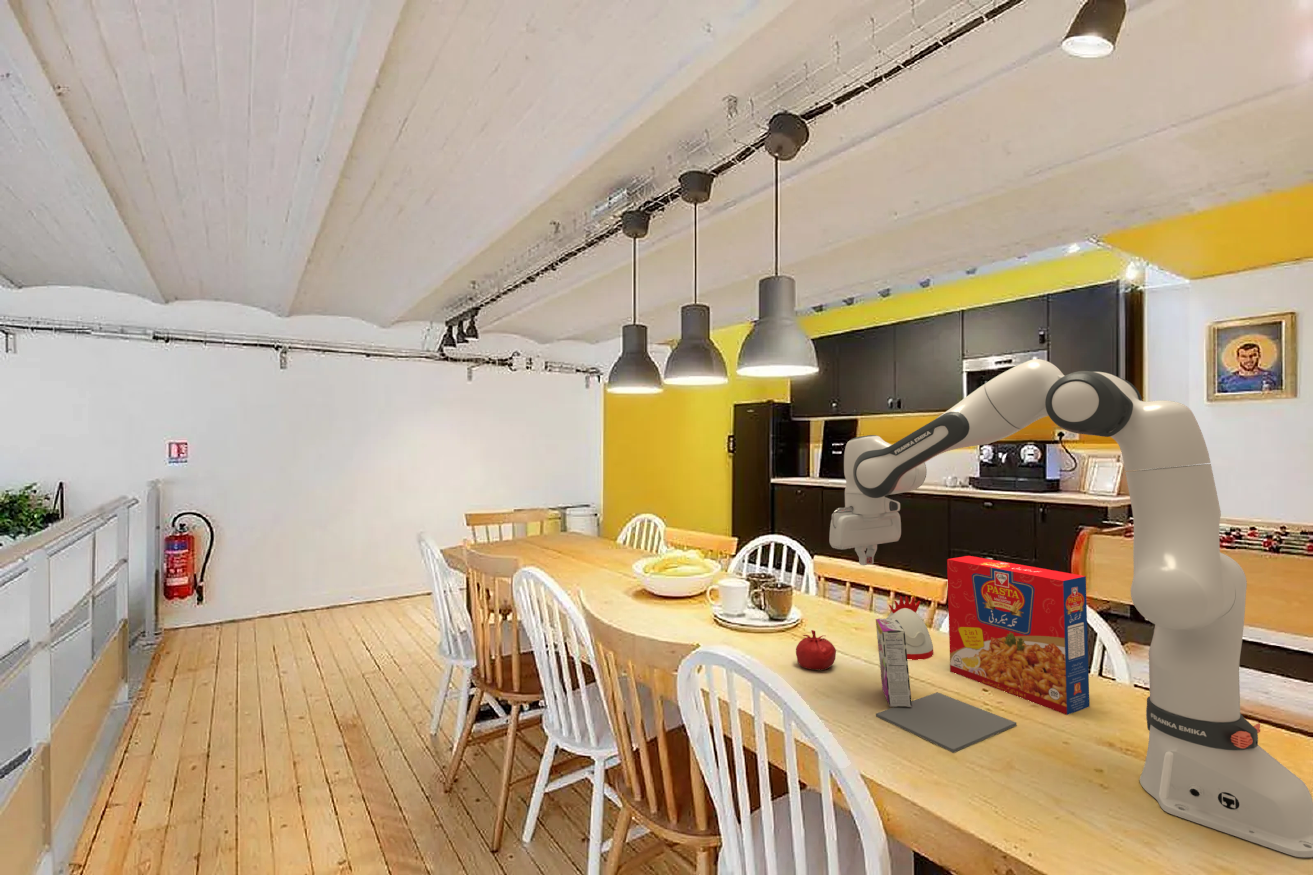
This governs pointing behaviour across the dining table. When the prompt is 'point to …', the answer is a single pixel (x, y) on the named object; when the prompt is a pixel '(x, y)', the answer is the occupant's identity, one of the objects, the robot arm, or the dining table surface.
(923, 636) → the kitchen timer
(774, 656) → the dining table surface
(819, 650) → the pomegranate
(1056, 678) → the pasta box
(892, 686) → the candy bar box
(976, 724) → the rubber mat
